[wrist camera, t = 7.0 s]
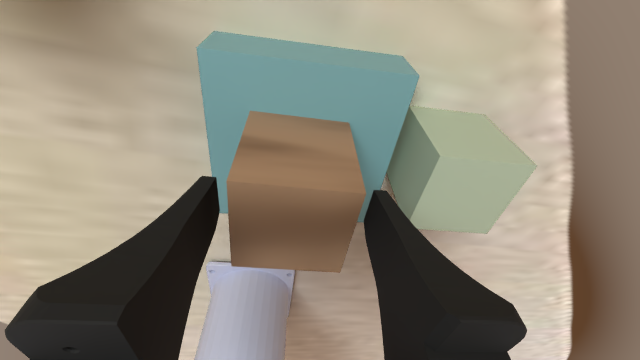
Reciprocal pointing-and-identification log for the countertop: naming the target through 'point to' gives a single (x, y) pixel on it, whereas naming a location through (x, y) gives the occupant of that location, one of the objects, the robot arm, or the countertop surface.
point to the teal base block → (303, 96)
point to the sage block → (455, 170)
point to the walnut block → (293, 193)
